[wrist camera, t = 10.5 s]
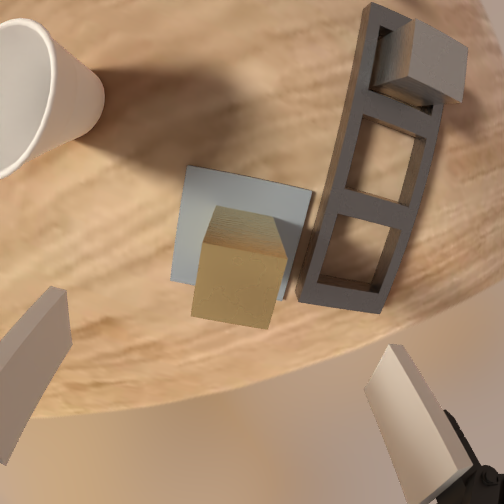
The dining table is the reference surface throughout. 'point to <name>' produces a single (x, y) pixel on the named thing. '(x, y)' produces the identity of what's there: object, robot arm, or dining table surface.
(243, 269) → the block
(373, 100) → the grey block holder tray
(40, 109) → the cup
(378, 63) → the block
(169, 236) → the dining table surface
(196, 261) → the mat
